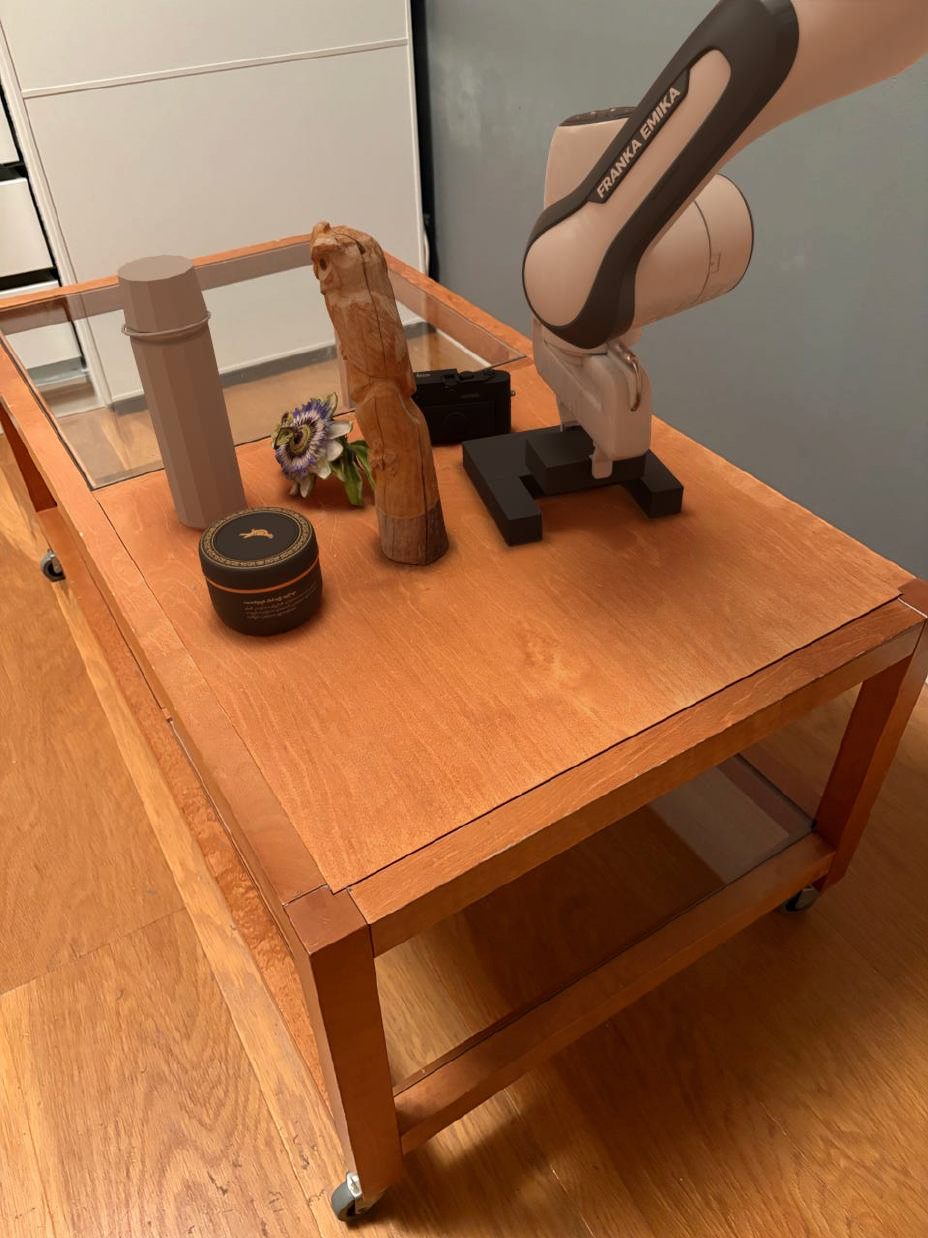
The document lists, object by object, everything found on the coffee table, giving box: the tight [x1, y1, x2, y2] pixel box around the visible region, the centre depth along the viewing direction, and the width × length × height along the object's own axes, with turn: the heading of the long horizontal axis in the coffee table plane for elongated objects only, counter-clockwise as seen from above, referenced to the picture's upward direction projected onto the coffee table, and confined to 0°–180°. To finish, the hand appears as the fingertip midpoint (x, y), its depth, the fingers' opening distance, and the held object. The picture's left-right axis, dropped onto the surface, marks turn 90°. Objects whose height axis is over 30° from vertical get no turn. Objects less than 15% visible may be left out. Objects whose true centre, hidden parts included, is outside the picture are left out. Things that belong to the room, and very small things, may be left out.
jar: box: [197, 505, 324, 638], centre depth 82 cm, size 10×10×8 cm
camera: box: [411, 367, 517, 447], centre depth 106 cm, size 14×7×8 cm, turn 98°
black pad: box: [525, 428, 647, 495], centre depth 91 cm, size 10×6×3 cm, turn 106°
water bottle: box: [116, 254, 248, 531], centre depth 89 cm, size 9×8×25 cm
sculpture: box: [309, 220, 450, 566], centre depth 81 cm, size 7×9×30 cm
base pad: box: [461, 424, 685, 547], centre depth 97 cm, size 18×16×3 cm
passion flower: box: [270, 391, 376, 508], centre depth 98 cm, size 11×11×12 cm
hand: (584, 455), depth 91 cm, fingers closed on black pad, 6 cm apart
